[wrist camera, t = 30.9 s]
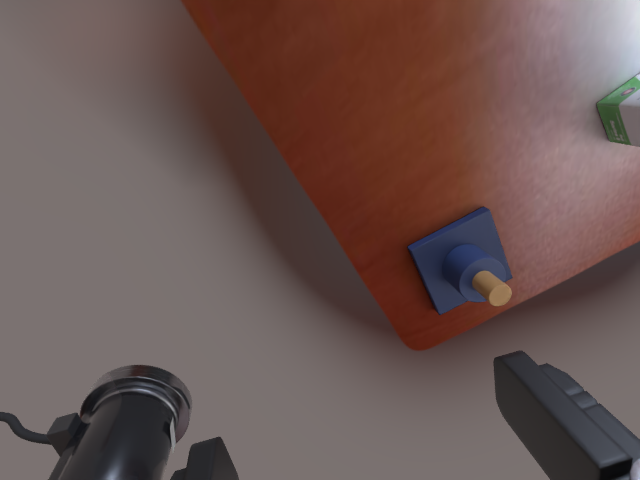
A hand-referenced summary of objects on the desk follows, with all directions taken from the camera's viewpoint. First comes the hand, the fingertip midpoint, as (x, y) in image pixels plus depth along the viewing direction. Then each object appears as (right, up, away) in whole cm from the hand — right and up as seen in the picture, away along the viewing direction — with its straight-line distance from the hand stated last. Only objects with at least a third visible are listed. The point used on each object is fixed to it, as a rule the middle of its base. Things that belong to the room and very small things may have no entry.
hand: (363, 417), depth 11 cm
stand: (+14, +3, +31) cm, 35 cm away
